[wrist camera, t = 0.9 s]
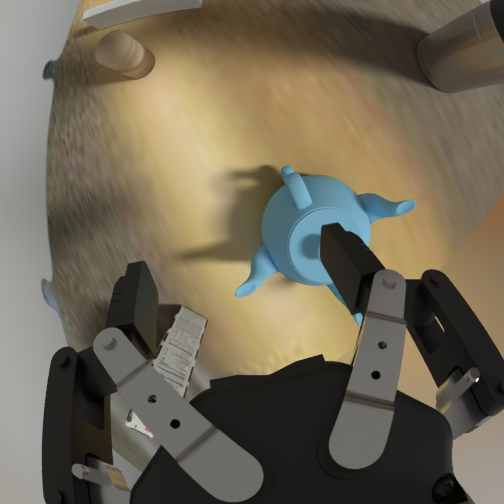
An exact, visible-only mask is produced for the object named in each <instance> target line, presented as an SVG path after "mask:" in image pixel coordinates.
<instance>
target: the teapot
mask: <svg viewBox="0 0 504 504" xmlns="http://www.w3.org/2000/svg"><path fill="white" fill-rule="evenodd" d="M280 172H281V175H282V178H283V181H284V183H285V185H283V186H282V187H281V188H280V189H279V190H278V191H277V192H276V193H275V194H274V195H273V196H272V197H271V199H270V200H269V202H268V204H267V206H266V208H265V210H264V213H263V217H262V222H261V236H262V241H263V245H262V246H261V247H260V248H259V249H258V250H257V251H256V252H255V253H254V255H253V257H252V261H251V272H250V276H249V278H248V279H247V280H246V281H245V282H244V283H243V284H242V285H241V286H240V287H239V288H238V289H237V290H236V292H235V295H236V296H237V297H244V296H247V295H249V294H251V293H253V292H254V291H255V290H256V289H258V288H259V287H260V286H261V285H262V283H263V282H264V280H265V279H266V278H267V277H269V276H270V275H272V274H273V273H275V272H277V271H280V272H281V273H283V274H284V275H285V276H287V277H288V278H290V279H292V280H294V281H296V282H298V283H301V284H305V285H311V286H322V285H327V286H328V287H329V289H330V290H331V291H332V293H333V294H334V295H335V296H336V297H337V298H338V299H339V300H340V301H341V302H342V303H343V304H344V305H345V306H346V304H345V302H344V300H343V299H342V297H341V295H340V293H339V292H338V290H337V288H336V287H335V285H334V283H333V281H332V280H331V278H330V276H329V275H328V273H327V271H326V270H325V268H324V266H323V264H322V262H321V259H320V238H321V227H322V225H325V224H330V223H336V222H338V223H340V225H341V226H342V227H343V228H344V229H345V231H351V232H353V233H355V234H356V235H358V236H359V237H360V238H361V239H362V240H363V241H364V243H365V245H367V246H369V242H370V223H372V222H374V221H376V220H379V219H382V218H385V217H395V216H400V215H404V214H406V213H408V212H410V211H411V210H413V209H414V208H415V206H416V202H415V201H414V200H405V201H400V202H391V201H388V200H386V199H384V198H383V197H381V196H379V195H376V194H371V193H367V194H360V195H357V194H356V193H355V192H354V191H353V190H352V189H351V188H350V187H349V186H348V185H346V184H345V183H343V182H341V181H339V180H337V179H335V178H332V177H329V176H324V175H308V176H303V177H301V176H300V175H299V173H296V172H294V171H293V169H292V167H291V166H284V167H283V168H282V169H281V170H280ZM346 307H347V306H346ZM347 308H348V307H347ZM348 310H349V309H348ZM353 317H354V319H355V321H356V322H357V324H358V325H359V326H360V325H361V321H362V318H363V316H362V314H361V313H358V314H355V315H353Z"/></svg>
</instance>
